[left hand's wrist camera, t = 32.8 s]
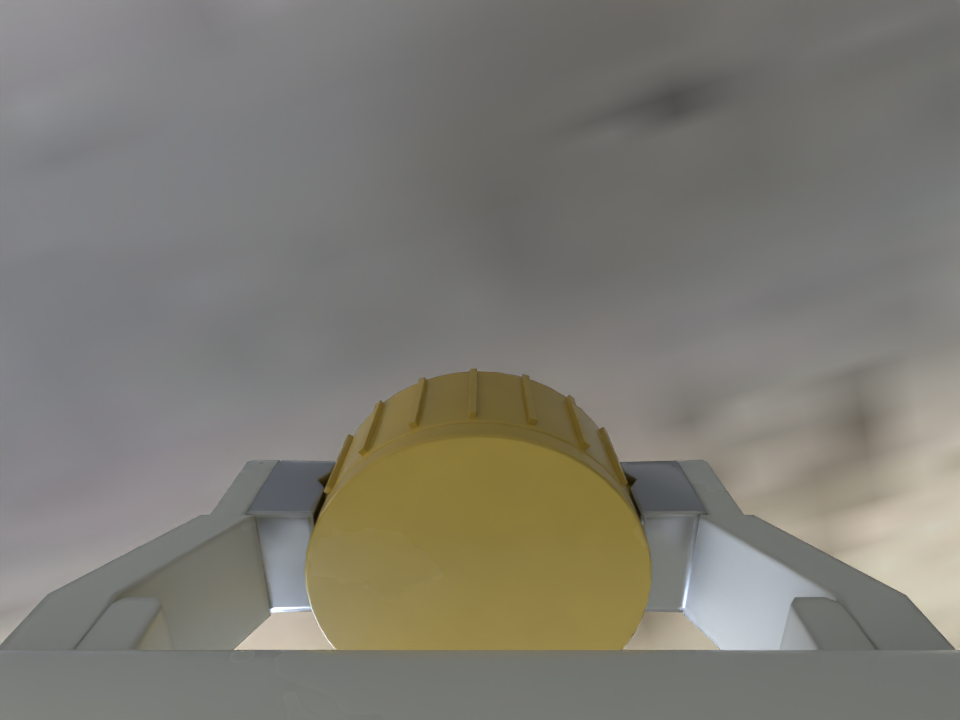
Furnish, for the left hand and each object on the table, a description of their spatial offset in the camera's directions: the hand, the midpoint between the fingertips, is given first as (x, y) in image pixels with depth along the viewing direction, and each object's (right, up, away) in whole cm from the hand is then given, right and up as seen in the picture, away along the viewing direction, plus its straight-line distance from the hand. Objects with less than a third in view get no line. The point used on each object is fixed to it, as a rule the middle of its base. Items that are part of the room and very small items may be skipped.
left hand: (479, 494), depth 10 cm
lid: (0, -1, -2) cm, 2 cm away
